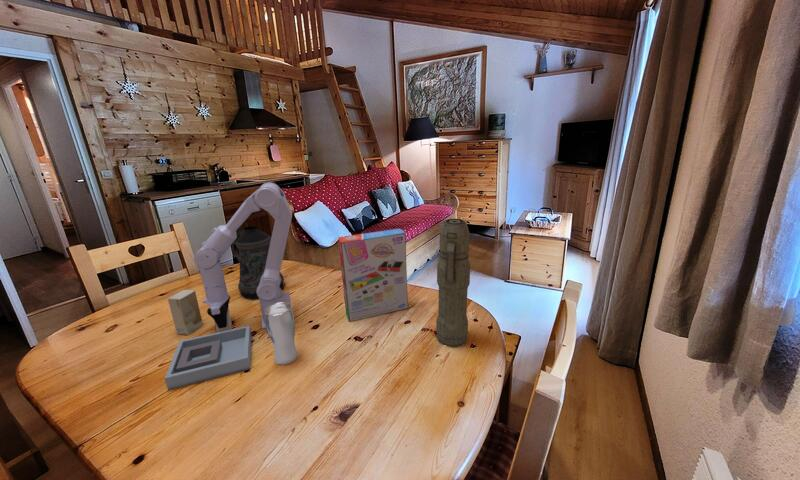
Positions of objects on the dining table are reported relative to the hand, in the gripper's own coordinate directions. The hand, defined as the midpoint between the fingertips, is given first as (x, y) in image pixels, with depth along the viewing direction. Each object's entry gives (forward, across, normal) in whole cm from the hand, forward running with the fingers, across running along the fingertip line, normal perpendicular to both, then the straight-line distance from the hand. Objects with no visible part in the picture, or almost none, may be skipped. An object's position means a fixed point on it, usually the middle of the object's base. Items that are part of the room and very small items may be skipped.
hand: (223, 323), depth 102 cm
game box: (+2, +11, +47) cm, 48 cm away
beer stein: (+2, -24, +10) cm, 26 cm away
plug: (+2, 0, 0) cm, 2 cm away
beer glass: (+2, +23, +17) cm, 29 cm away
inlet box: (+2, +16, -1) cm, 16 cm away
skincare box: (+2, -4, -10) cm, 11 cm away
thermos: (+2, +34, +62) cm, 71 cm away
